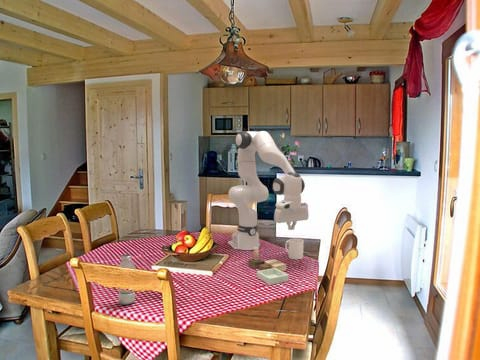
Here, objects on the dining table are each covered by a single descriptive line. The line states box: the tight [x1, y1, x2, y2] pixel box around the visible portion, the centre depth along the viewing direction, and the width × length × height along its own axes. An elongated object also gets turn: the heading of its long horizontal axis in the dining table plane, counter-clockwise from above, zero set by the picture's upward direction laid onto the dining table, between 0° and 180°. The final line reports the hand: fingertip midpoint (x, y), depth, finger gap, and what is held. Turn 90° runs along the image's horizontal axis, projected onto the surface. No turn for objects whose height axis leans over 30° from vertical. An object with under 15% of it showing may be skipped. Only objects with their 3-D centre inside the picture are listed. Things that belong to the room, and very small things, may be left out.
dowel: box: [253, 247, 260, 261], centre depth 200 cm, size 2×2×10 cm
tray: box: [256, 268, 290, 286], centre depth 184 cm, size 11×11×3 cm
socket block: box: [247, 257, 265, 270], centre depth 200 cm, size 6×6×4 cm
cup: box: [284, 238, 305, 261], centre depth 219 cm, size 8×12×10 cm
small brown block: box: [259, 264, 271, 271], centre depth 195 cm, size 4×4×3 cm
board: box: [263, 259, 287, 272], centre depth 197 cm, size 10×7×4 cm
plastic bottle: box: [117, 253, 136, 306], centre depth 154 cm, size 6×7×20 cm
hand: (291, 229), depth 201 cm, fingers closed
